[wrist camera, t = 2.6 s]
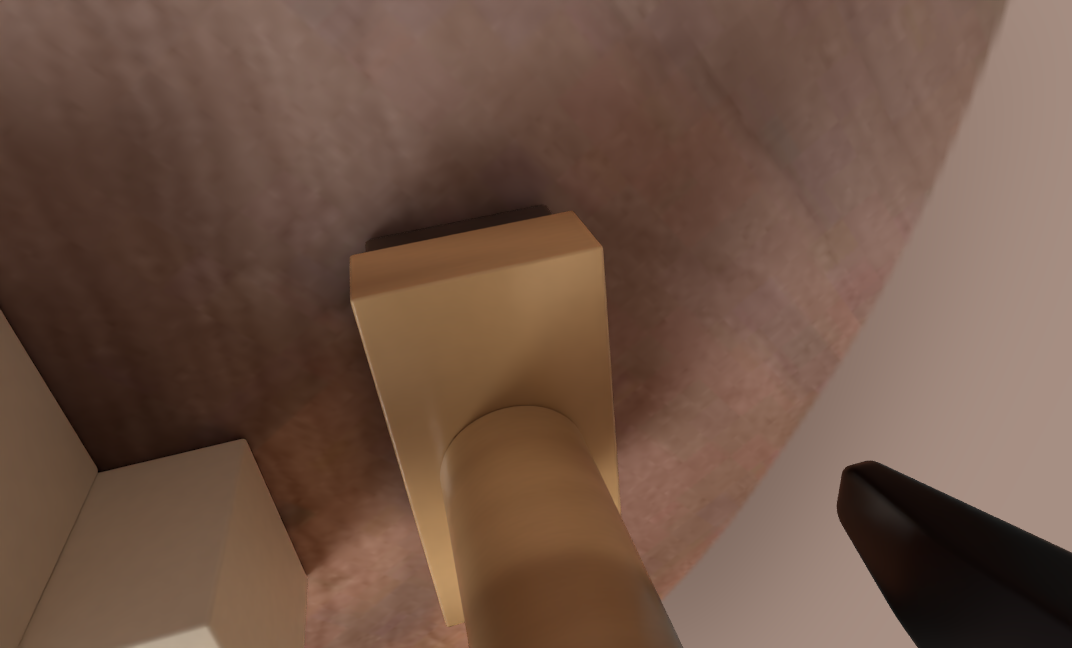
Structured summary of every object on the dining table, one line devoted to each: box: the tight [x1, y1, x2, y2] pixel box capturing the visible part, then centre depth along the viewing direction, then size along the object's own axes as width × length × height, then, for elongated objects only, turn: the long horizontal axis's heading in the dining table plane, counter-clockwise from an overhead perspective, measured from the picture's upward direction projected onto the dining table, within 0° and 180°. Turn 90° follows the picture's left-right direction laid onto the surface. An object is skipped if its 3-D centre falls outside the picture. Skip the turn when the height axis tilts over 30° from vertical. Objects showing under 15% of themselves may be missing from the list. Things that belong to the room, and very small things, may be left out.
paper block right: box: [18, 439, 308, 648], centre depth 11 cm, size 4×4×4 cm
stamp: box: [350, 205, 683, 648], centre depth 9 cm, size 7×4×8 cm, turn 7°
